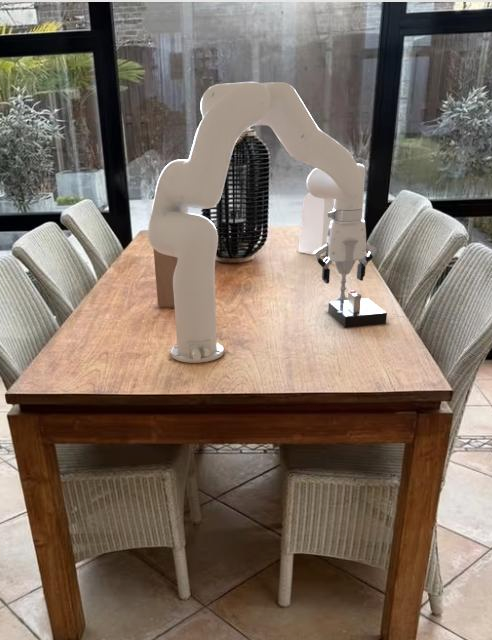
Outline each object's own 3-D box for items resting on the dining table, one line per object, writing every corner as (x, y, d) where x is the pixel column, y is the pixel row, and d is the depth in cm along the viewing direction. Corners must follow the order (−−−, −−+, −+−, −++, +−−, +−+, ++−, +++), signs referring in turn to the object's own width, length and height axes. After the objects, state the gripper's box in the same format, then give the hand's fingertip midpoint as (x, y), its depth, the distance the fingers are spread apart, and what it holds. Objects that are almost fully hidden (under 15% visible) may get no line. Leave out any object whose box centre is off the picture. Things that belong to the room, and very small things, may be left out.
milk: (320, 246, 252) (323, 173, 239) (343, 250, 244) (348, 174, 231) (298, 252, 246) (300, 176, 233) (321, 256, 238) (325, 178, 225)
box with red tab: (359, 313, 168) (361, 294, 166) (353, 313, 168) (354, 295, 166) (353, 308, 172) (355, 289, 170) (347, 308, 172) (348, 290, 170)
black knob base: (386, 324, 169) (387, 312, 167) (341, 328, 168) (342, 316, 166) (366, 309, 181) (367, 297, 179) (324, 312, 180) (325, 301, 178)
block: (190, 308, 190) (186, 237, 179) (157, 308, 192) (151, 237, 181) (197, 299, 198) (194, 230, 188) (165, 299, 200) (160, 230, 190)
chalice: (325, 307, 184) (329, 241, 175) (332, 301, 189) (336, 236, 180) (351, 310, 181) (356, 242, 172) (358, 303, 186) (363, 237, 177)
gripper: (319, 220, 169) (316, 287, 177) (384, 215, 170) (378, 281, 179) (311, 215, 175) (308, 280, 184) (373, 211, 177) (368, 275, 185)
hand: (343, 280), depth 181 cm, fingers open, 9 cm apart
